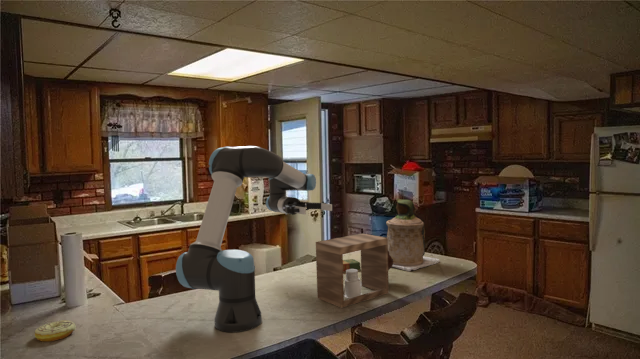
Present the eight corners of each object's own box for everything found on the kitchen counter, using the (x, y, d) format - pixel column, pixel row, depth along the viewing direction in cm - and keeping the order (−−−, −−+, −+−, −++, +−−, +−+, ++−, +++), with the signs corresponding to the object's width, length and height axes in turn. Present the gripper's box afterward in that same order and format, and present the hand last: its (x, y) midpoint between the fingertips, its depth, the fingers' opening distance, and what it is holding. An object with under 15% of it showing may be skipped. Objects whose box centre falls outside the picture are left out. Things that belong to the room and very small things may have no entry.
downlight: (356, 291, 171) (354, 266, 170) (367, 296, 165) (365, 270, 164) (339, 296, 166) (337, 270, 166) (350, 301, 160) (348, 274, 160)
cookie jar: (411, 272, 195) (410, 202, 193) (370, 263, 213) (368, 199, 211) (441, 262, 212) (440, 197, 210) (400, 254, 230) (399, 194, 228)
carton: (322, 270, 204) (322, 261, 204) (353, 266, 210) (353, 258, 210) (328, 274, 197) (328, 265, 196) (360, 270, 202) (360, 261, 202)
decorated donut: (83, 331, 139) (82, 320, 139) (51, 345, 129) (50, 333, 129) (60, 327, 143) (59, 316, 143) (27, 340, 133) (26, 328, 133)
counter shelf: (341, 307, 153) (339, 247, 152) (317, 298, 164) (315, 241, 163) (388, 293, 167) (387, 237, 166) (363, 285, 178) (362, 233, 177)
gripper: (312, 211, 201) (342, 215, 184) (265, 216, 186) (293, 222, 169) (311, 194, 201) (341, 197, 184) (265, 199, 186) (292, 202, 169)
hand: (318, 209), depth 177 cm, fingers open, 13 cm apart
